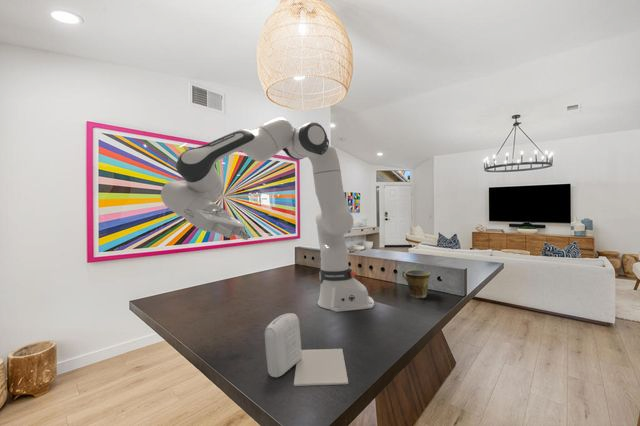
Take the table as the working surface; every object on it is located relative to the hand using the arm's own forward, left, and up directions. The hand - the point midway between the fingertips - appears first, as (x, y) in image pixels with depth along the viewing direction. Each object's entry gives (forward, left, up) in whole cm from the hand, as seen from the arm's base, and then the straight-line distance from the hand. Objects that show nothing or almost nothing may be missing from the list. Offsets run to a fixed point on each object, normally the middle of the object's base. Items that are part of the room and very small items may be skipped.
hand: (239, 236), depth 82 cm
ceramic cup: (-64, -41, -32) cm, 82 cm away
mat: (-22, +12, -31) cm, 40 cm away
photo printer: (-14, +12, -31) cm, 36 cm away
